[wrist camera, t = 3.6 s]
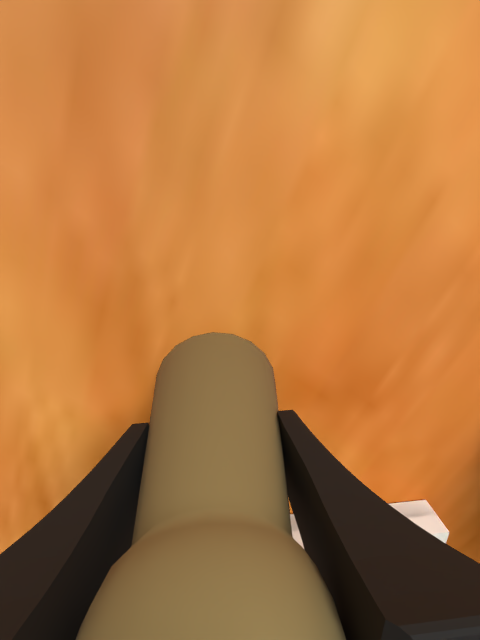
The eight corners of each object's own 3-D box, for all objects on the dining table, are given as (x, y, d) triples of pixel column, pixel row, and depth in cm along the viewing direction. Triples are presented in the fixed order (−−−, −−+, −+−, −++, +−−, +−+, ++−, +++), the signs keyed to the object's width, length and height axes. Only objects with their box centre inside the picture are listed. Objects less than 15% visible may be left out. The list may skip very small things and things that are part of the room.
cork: (208, 452, 15) (188, 920, 5) (129, 381, 14) (-157, 896, 3) (297, 392, 14) (491, 821, 4) (225, 307, 13) (255, 702, 2)
